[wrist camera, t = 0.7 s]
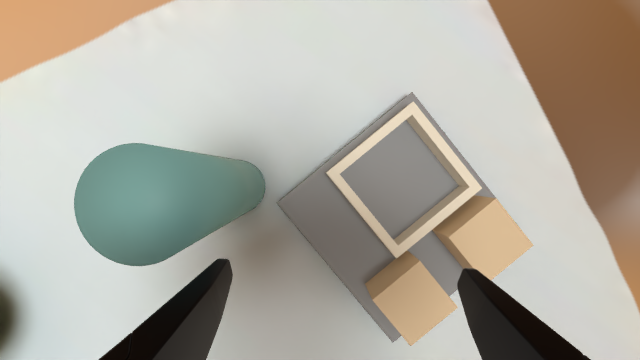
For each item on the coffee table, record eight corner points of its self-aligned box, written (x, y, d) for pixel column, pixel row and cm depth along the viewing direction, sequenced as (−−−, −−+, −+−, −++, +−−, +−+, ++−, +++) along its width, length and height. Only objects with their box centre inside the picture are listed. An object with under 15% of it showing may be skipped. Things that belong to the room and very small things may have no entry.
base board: (388, 334, 25) (404, 366, 21) (278, 201, 24) (271, 207, 20) (514, 231, 25) (554, 242, 21) (407, 95, 24) (426, 79, 20)
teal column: (235, 223, 24) (130, 290, 10) (201, 182, 24) (48, 196, 10) (275, 190, 24) (224, 213, 10) (242, 149, 24) (144, 117, 10)
